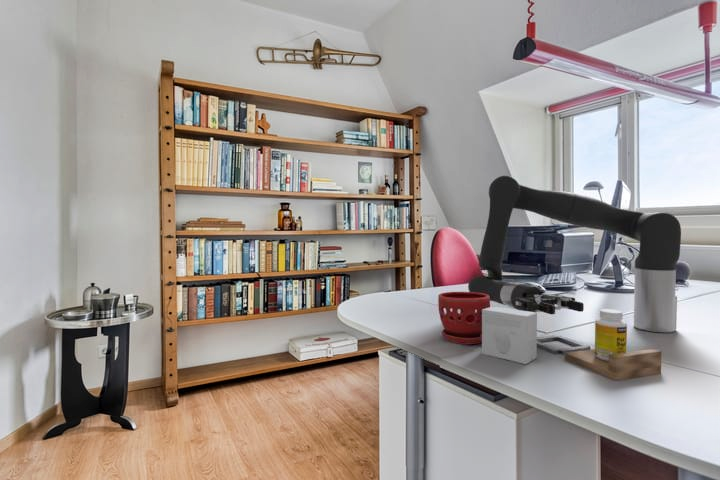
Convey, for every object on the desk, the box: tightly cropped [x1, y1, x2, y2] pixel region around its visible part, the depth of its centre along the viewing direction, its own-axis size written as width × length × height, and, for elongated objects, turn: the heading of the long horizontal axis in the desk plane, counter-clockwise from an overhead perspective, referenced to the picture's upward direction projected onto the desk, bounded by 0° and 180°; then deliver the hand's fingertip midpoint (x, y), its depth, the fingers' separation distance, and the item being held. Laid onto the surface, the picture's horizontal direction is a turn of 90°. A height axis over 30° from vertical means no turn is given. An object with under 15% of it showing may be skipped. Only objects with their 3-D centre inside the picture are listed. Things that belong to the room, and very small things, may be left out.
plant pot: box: [437, 291, 491, 345], centre depth 98 cm, size 13×13×12 cm
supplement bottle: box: [594, 308, 628, 361], centre depth 79 cm, size 6×6×10 cm
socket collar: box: [537, 335, 591, 355], centre depth 92 cm, size 10×10×1 cm
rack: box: [564, 348, 662, 381], centre depth 79 cm, size 12×12×4 cm
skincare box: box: [481, 306, 538, 365], centre depth 86 cm, size 10×6×10 cm, turn 45°
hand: (568, 308), depth 89 cm, fingers open, 8 cm apart
